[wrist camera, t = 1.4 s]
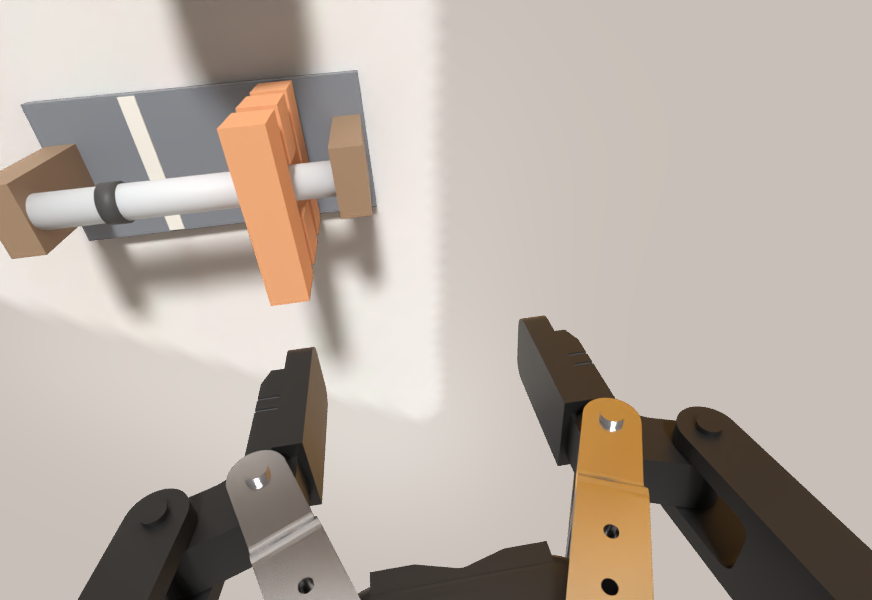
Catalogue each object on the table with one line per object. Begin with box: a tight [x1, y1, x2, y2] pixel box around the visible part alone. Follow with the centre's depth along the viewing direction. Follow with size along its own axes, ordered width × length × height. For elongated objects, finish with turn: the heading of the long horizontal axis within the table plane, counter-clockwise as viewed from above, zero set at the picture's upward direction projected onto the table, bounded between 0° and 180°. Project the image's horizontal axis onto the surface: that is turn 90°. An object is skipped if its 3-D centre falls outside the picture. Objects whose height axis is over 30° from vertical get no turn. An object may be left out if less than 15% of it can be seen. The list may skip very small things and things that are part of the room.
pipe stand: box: [0, 70, 376, 259], centre depth 30 cm, size 20×9×8 cm, turn 94°
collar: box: [217, 80, 321, 306], centre depth 28 cm, size 2×9×11 cm, turn 4°
